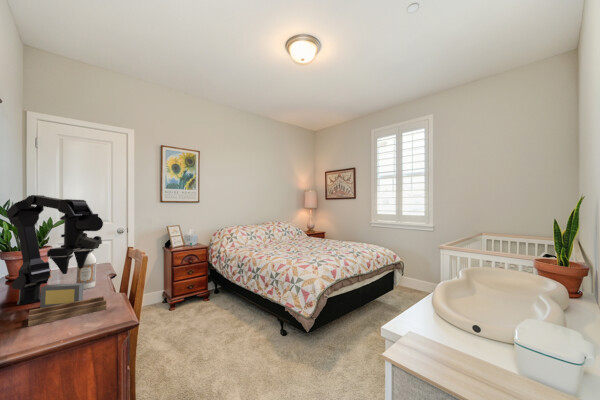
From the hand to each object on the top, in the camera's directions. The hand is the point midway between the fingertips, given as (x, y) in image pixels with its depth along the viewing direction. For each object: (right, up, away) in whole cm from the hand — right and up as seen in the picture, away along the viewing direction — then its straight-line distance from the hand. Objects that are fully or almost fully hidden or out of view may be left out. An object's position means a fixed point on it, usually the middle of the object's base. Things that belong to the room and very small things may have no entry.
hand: (73, 271), depth 97 cm
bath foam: (-14, -14, +21) cm, 29 cm away
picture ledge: (+6, -13, -8) cm, 16 cm away
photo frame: (-4, -13, 0) cm, 14 cm away
